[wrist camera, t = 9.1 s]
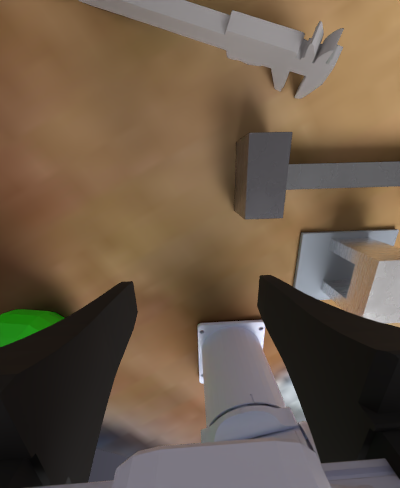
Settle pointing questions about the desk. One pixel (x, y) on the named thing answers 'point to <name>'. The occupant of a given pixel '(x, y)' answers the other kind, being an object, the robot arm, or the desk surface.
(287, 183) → the vise
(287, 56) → the caliper
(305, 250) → the mat
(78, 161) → the desk surface
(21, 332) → the plastic bottle
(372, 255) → the white block
